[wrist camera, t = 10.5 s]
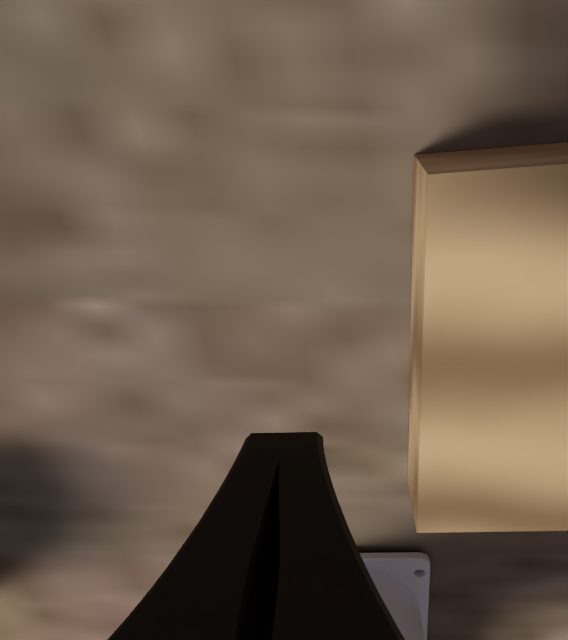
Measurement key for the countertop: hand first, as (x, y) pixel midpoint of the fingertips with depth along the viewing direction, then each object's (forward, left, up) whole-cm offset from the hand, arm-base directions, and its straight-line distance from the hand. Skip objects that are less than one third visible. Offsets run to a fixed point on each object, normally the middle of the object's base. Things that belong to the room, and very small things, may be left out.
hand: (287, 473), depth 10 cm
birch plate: (-3, -8, -10) cm, 13 cm away
